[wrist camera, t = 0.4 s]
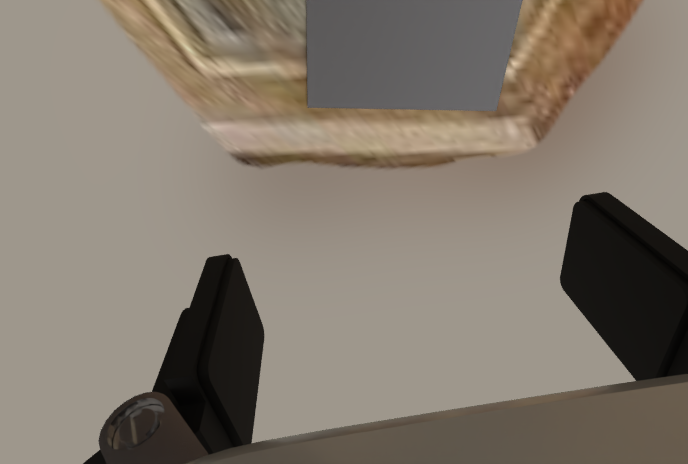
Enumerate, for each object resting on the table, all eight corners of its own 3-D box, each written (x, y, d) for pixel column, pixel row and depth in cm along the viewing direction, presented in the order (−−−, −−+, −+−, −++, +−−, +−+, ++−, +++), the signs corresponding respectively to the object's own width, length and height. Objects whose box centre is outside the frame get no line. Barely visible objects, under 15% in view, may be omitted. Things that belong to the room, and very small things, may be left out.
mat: (305, -136, 29) (305, -139, 28) (546, -120, 30) (551, -122, 30) (307, 105, 38) (307, 107, 37) (492, 108, 39) (496, 110, 39)
